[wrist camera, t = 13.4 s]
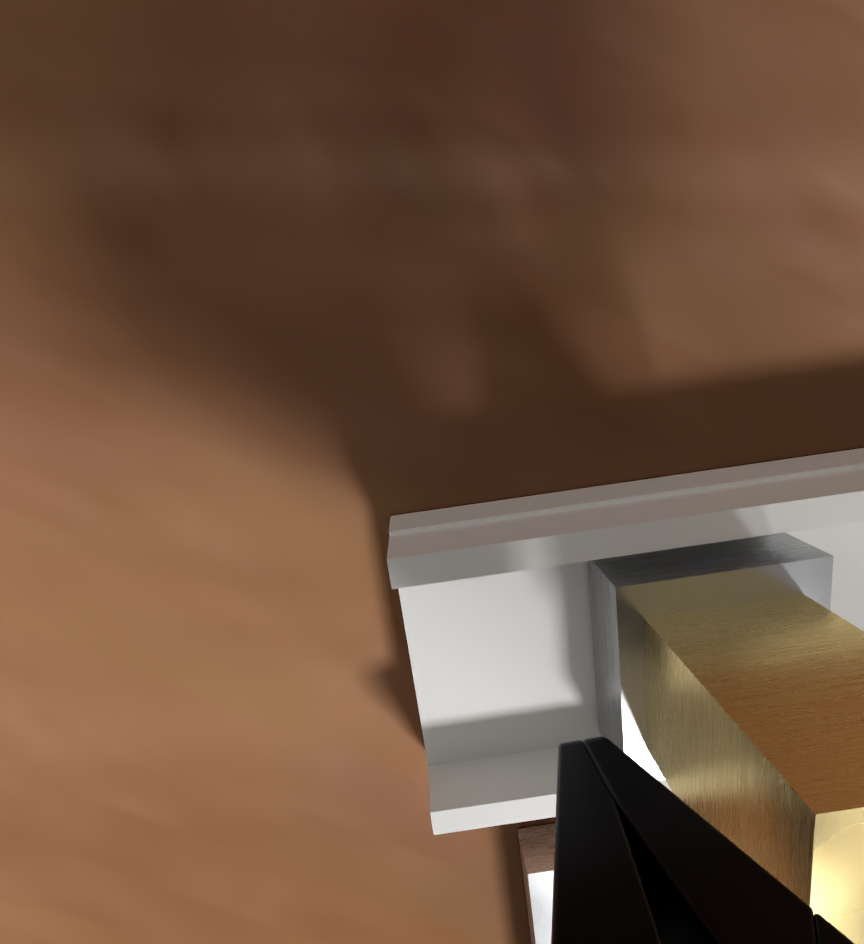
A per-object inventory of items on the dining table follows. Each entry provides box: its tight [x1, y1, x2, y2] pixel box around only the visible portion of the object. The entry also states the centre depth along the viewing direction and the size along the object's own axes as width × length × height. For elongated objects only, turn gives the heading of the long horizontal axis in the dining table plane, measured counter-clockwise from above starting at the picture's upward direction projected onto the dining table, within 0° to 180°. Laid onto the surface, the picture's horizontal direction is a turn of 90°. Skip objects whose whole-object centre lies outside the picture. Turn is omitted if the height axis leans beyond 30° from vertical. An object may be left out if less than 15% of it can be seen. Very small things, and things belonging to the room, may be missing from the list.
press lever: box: [588, 532, 864, 944], centre depth 8 cm, size 4×4×6 cm
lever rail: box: [387, 448, 864, 835], centre depth 11 cm, size 7×14×2 cm, turn 98°
